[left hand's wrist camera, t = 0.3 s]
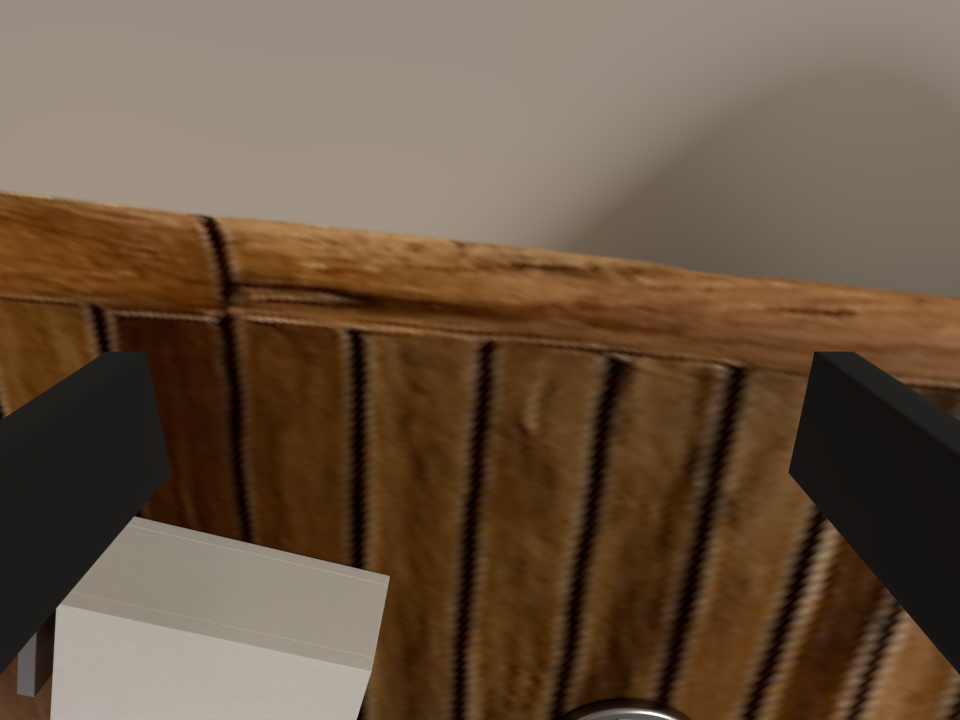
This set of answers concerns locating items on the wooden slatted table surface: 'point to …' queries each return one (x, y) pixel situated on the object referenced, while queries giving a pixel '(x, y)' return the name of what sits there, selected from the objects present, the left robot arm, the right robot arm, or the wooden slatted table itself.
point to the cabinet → (213, 632)
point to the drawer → (36, 659)
